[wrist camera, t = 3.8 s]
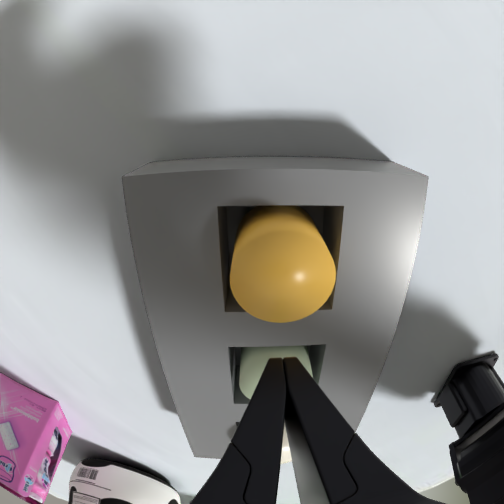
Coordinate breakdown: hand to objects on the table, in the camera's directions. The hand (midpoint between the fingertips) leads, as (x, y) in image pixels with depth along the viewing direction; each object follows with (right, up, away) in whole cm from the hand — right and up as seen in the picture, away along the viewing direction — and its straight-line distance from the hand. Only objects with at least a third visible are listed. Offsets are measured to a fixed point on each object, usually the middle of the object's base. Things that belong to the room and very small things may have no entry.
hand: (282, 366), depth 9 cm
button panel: (+1, -2, +11) cm, 11 cm away
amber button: (0, +4, +7) cm, 8 cm away
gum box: (-35, -14, +18) cm, 41 cm away
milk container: (-20, -31, +25) cm, 45 cm away
